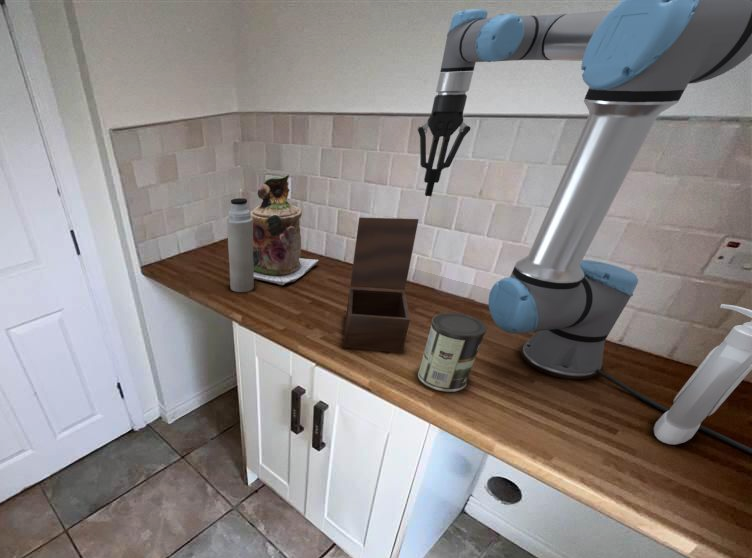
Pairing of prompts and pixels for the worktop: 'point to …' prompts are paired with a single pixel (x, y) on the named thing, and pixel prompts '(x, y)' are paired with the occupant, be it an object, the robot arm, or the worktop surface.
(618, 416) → the worktop surface
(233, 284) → the thermos bottle
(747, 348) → the soap bottle
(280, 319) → the worktop surface
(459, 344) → the coffee can
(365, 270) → the lid
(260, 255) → the cookie jar
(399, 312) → the chest
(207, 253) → the worktop surface
